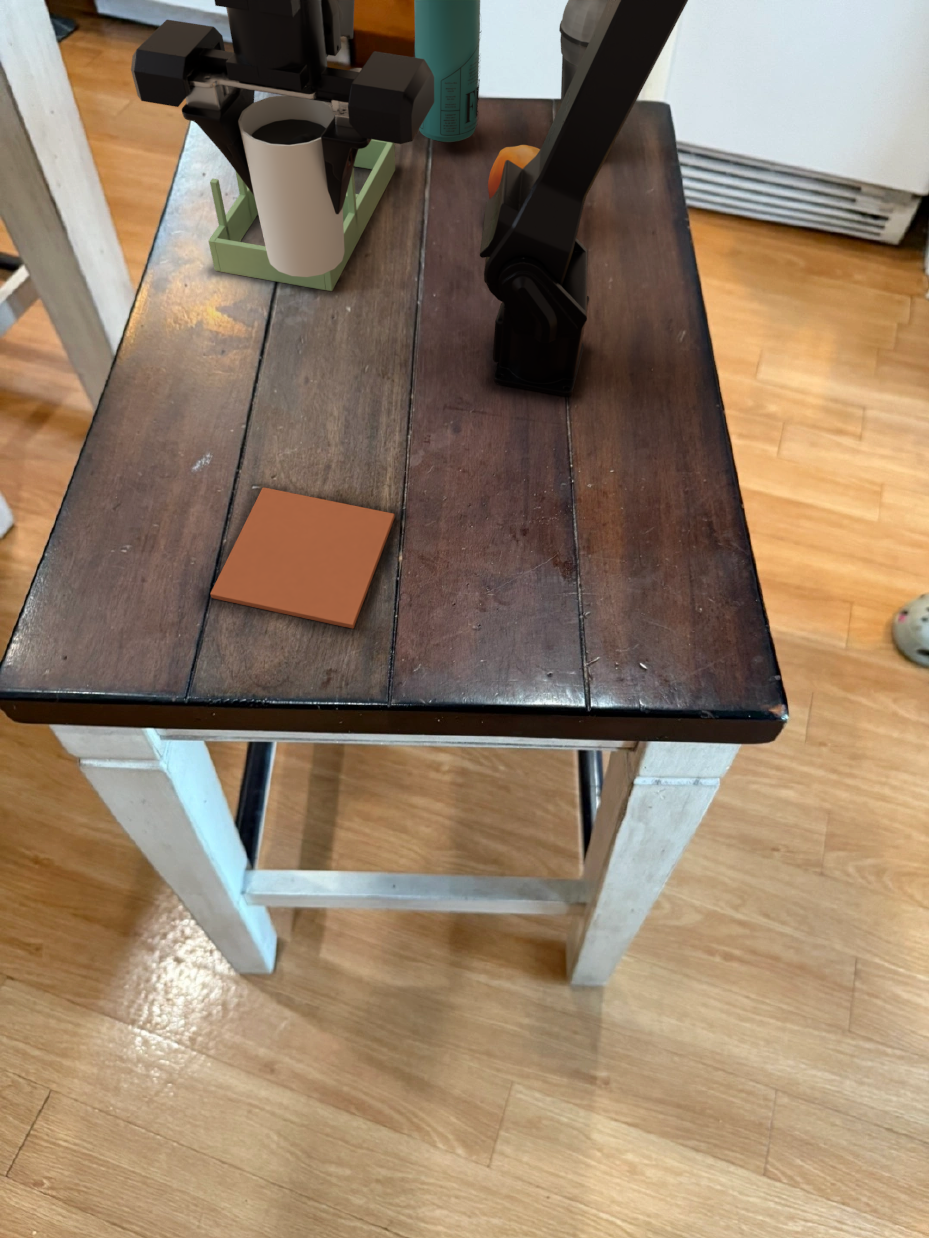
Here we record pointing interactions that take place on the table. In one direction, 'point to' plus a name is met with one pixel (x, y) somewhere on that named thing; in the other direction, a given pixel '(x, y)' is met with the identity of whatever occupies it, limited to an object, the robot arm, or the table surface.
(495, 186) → the fruit
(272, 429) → the table surface
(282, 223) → the off-white tumbler
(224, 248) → the dish rack
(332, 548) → the mat
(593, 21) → the beverage cup
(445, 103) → the beverage bottle
